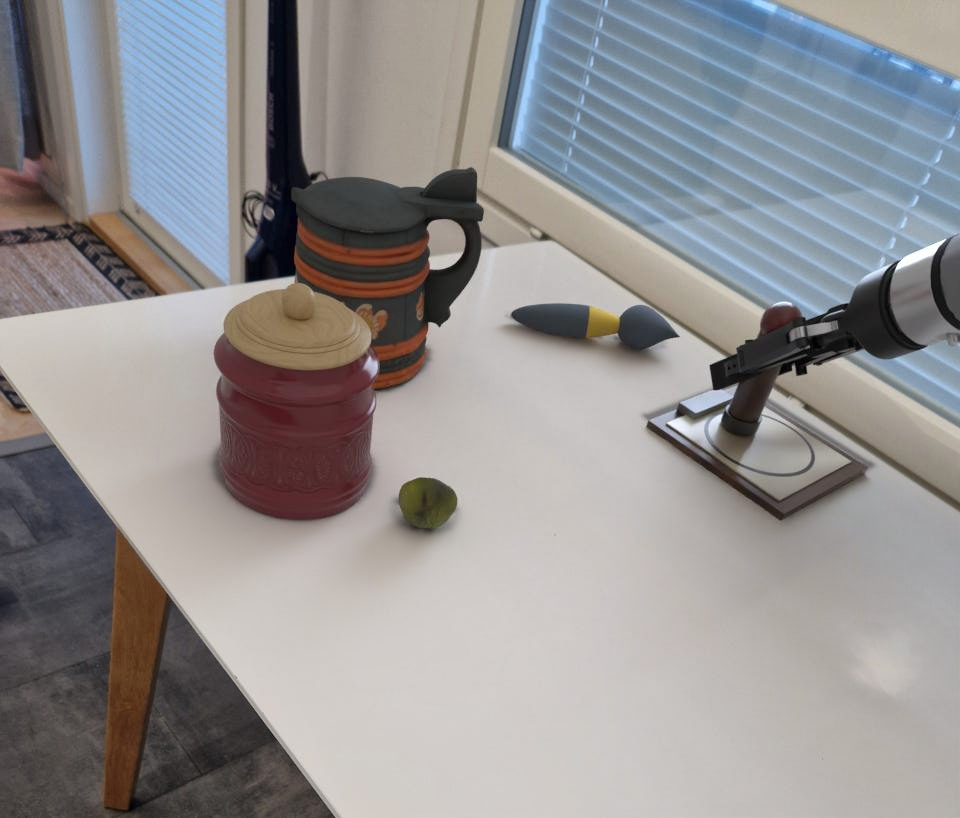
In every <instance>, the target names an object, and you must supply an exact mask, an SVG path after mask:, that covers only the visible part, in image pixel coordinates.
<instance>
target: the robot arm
mask: <svg viewBox="0 0 960 818" xmlns="http://www.w3.org/2000/svg"><path fill="white" fill-rule="evenodd" d="M756 338H757V337H756ZM756 338H755V339H745V340H744V344H740V345H739V346H737V347H736V348H735V350H736V353H734V354H732V355H729V356H727V357H724V358H723V359H720V360H718V361H715V362H714V363H710V364H709V365H708V366H709V371H710V379H711V385H712V390H713V391H715V390H720V389H722V390H723V389H727V388H729V387H732V386H735V385H737V384H738V383H739V382H742V381H744V380H747V379H750V378H752V377H755V376H758V375H760V374H761V371H763V370H766V369H769V368H772V367H775V366H778V365H781V364H783V365H782V367H781V370H780V372H779V374H778V377H779V376H782V375H785V374H787V373H790V372H793V367H794V370H795V376H796V377H800V376H805V375H808V366H811V365H812V366H817V367H819V366H822V365H824V364H826V363H828V362H831V361H832V362H833V361H835V360H837V359H841V358H844V357H847V356H849V355H852V354H855V353H858V352H861V351H865V352H866V353H868V354H869V355H871V356H872V357H874V358H877V359H879V360H887V361H888V360H894V359H896V358H897V359H898V358H900V357H903V356H905V355H910V354H912V353H914V352H917V351H920V350H923V349H926V348H927V347H928V346H933V345H936V344H939V343H942V342H945V341H946V342H947V345H948V346H950V347H956V346H958V345H959V344H960V233H957V234H955V235H952V236H950V237H946V238H945V239H944V240H941V241H938V242H936V243H934V244H931V245H929V246H926V247H924V248H923V249H920V250H917V251H915V252H913V253H910V254H909V255H907V256H904V258H903V259H899V260H896V261H894V262H892V263H890V264H887V265H886V266H885V265H884V266H883V267H880V268H878V269H876V270H874V271H872V272H870V273H868V274H866V275H864V277H862V278H861V279H860V280H859V282H857V284H856V286H855V288H854V290H853V291H852V295H851V297H850V300H849V302H845V303H840V304H838V305H835V306H833V307H830V308H828V310H827V311H826V312H824V313H822V314H819V315H817V316H816V315H815V316H814V317H811V318H808V319H807V318H806V317H805V316H802V317H797V318H795V319H794V320H792V321H790V322H789V323H788V324H786V325H785V326H783V327H781V328H779V329H776V330H774V331H772V332H770V333H768V334H765V335H763V336H761V337H759V338H757V339H756Z"/></svg>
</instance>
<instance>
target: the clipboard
mask: <svg viewBox="0 0 960 818" xmlns="http://www.w3.org/2000/svg"><path fill="white" fill-rule="evenodd" d="M737 386H738V384H735V385H732V386H730V387H727V388H725V389H724V390H723V389H720V390H715V391H713V389H710V390H707V391H705V392H703V393H701V394H700V393H699V394H698V395H695V396H692V397H689V398H687V399H684V400H682V401H680V402H679V403H678V405H677V408H676V409H673V410H671V411H668V412H666V413H663V414H660V415H658V416H655V417H654V418H650V419H648V420H647V423H646V426H645V427H646V428H648V429H649V430H650V431H652V432H654V433H655V434H656V435H658V436H660V437H661V438H662V439H664V440H665V441H666V442H668V443H669V444H671V445H672V446H674V447H675V448H677V449H678V450H679V451H681V452H682V453H683V454H685V455H687V456H688V457H689V458H691V459H692V460H693V461H695V462H696V463H699V465H700V466H702V467H704V468H705V469H707V470H708V471H710V472H711V473H713V474H714V475H715V476H717V477H718V478H720V479H721V480H722V481H724V482H725V483H727V484H728V485H730V487H732V488H734V489H736V490H737V491H738V492H740V493H741V494H742V495H744V496H745V497H747V498H748V499H750V500H751V501H753V502H754V503H756V504H757V505H758V506H760V507H761V508H763V509H764V510H766V511H767V512H769V513H770V514H772V515H773V516H774V517H776V518H777V519H779V520H780V521H782V520H784V519H786V518H788V517H790V516H791V515H793V514H795V513H797V512H798V511H800V510H802V509H803V508H805V507H807V506H809V505H811V504H813V503H814V502H816V501H818V500H819V499H822V498H823V497H825V496H827V495H829V494H830V493H833V492H834V491H835V490H838V489H840V488H841V487H843V486H845V485H846V484H848V483H850V482H852V481H853V480H855V479H857V478H859V477H860V476H862V475H865V474H866V472H867V471H868V469H869V466H867V465H865V464H864V463H863V462H860V461H859V460H858V459H856V458H854V457H853V456H851V455H850V454H848V453H847V452H845V451H843V450H841V448H838V447H837V446H835V445H833V444H832V443H830V442H829V441H827V440H825V438H822V437H821V436H819V435H818V434H816V433H814V432H813V431H811V430H809V429H808V428H807V427H804V426H803V425H802V424H800V423H799V422H797V421H796V420H794V419H792V418H791V417H789V416H788V415H786V414H784V413H783V412H781V411H779V410H778V409H776V408H775V407H773V406H771V405H770V404H768V403H767V402H766V405H765V407H764V409H763V411H762V414H761V416H762V421H761V423H760V426H759V428H758V430H757V432H756V433H755V434H754V435H751V436H743V435H738V434H735V433H732V432H730V431H729V430H727V429H726V428H725V427H724V426H723V425H722V423H721V418H722V416H723V413H724V411H725V408H726V406H727V405H729V404H730V403H731V401H732V398H733V396H734V393H735V391H736V388H737Z"/></svg>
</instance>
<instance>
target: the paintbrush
mask: <svg viewBox="0 0 960 818" xmlns="http://www.w3.org/2000/svg"><path fill="white" fill-rule="evenodd" d="M510 316H511V318H512V319H513V320H514V321H516V322H517V323H518V324H521V325H523V326H525V327H528V328H530V329H533V330H536V331H540V332H544V333H546V334H552V335H555V336H562V337H566V338H567V337H568V338H577V339H592V338H599V337H605V336H612V335H616V334H617V336H618V339H619V341H620V342H621V343H622V344H623V346H625V347H626V348H628V349H630V350H633V351H642V350H646V349H649V348H652V347H654V346H655V345H658V344H660V343H661V342H662V343H663V342H664V341H666V340H671V339H676V338H681V335H679V334H678V333H677V332H676V330H675V329H674V328H673V326H672V324H670V323H669V322H668V320H666V319H665V317H663V316H662V315H661V314H660V313H658V312H657V311H656V310H655V309H653V308H652V307H650V306H648V305H644V304H636V305H632V306H630V307H628V308H627V309H625V311H623V312H622V313H621V315H620V316H618V315H615V314H613V313H610V312H608V311H606V310H603V309H600V308H597V307H594V306H591V305H586V304H579V303H564V302H563V303H561V302H559V303H558V302H557V303H555V302H554V303H553V302H552V303H537V304H530V305H525V306H521V307H518V308H516V309H514V310H513V311H512V312H511V313H510Z"/></svg>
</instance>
